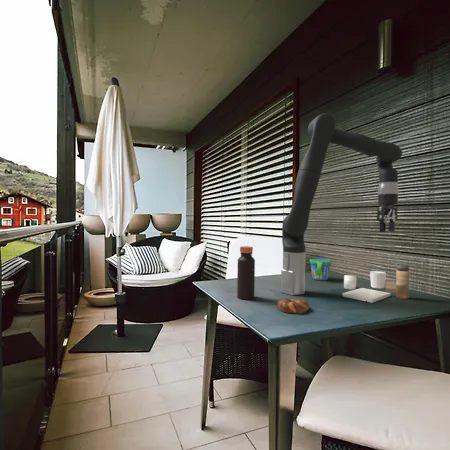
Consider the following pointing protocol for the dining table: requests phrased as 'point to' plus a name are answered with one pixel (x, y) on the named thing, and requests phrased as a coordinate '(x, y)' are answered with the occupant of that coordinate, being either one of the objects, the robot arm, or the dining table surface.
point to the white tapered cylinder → (377, 279)
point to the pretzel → (293, 305)
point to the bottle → (246, 274)
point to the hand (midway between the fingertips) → (387, 231)
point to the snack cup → (320, 269)
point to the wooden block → (390, 287)
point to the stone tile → (366, 295)
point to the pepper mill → (402, 282)
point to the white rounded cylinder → (350, 282)
